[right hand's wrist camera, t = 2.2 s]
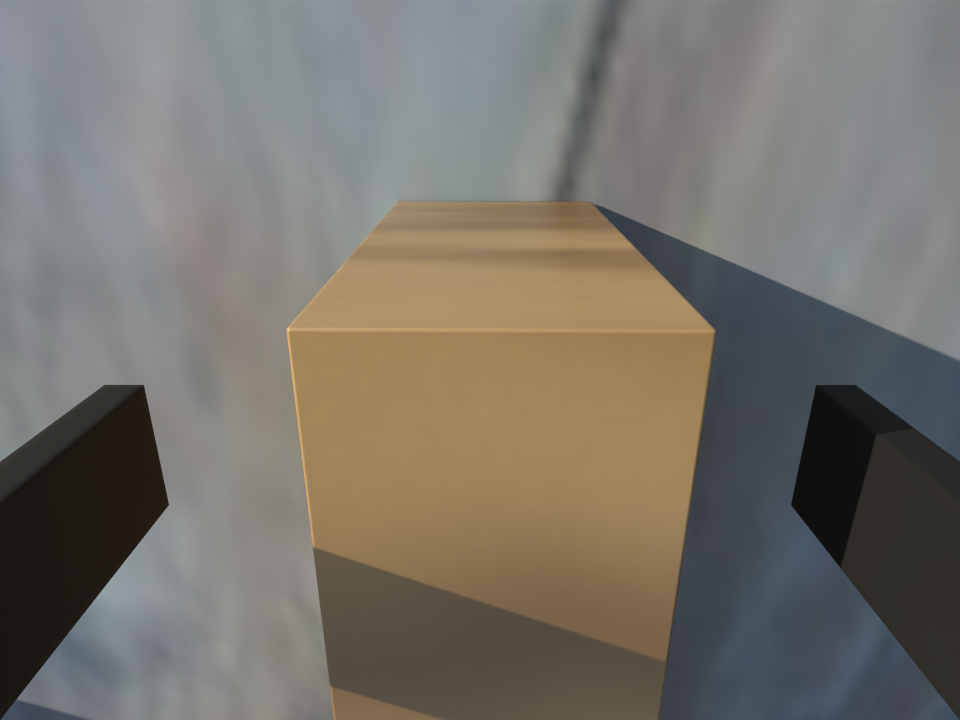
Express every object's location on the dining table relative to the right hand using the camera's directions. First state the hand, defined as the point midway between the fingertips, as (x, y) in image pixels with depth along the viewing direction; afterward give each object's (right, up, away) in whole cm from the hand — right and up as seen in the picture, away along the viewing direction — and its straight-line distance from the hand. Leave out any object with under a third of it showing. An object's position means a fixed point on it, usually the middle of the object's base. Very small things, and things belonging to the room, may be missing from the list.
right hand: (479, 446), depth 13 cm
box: (0, -6, +12) cm, 13 cm away
